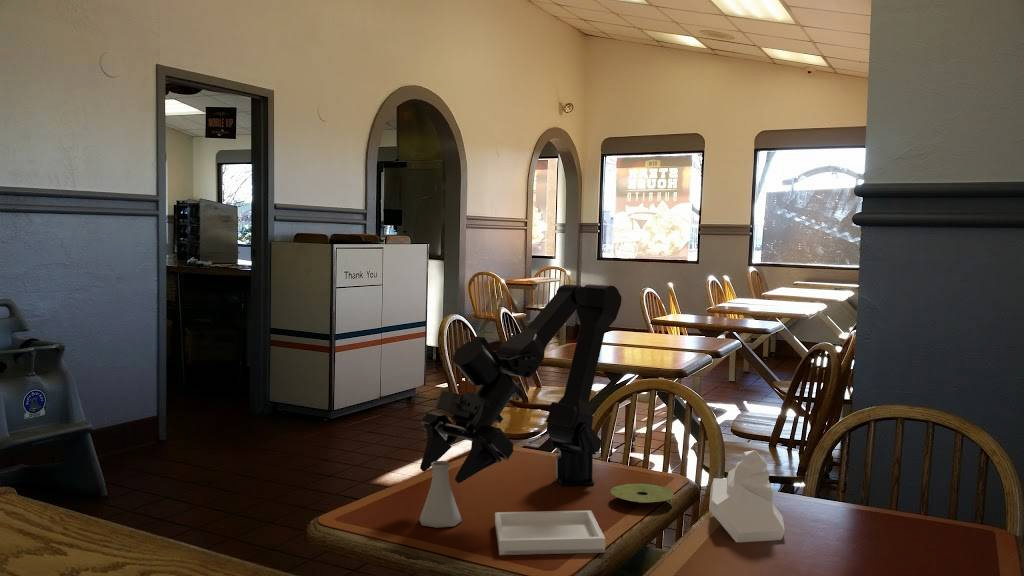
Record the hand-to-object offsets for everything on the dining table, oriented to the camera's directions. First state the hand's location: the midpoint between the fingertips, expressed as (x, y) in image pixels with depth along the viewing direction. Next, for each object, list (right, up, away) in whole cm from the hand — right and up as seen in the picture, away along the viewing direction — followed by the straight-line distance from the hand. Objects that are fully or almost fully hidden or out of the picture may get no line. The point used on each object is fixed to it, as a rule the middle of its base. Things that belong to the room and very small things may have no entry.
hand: (438, 475), depth 139 cm
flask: (0, -8, +1) cm, 8 cm away
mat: (+36, -8, +11) cm, 38 cm away
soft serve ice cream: (+51, -8, -2) cm, 51 cm away
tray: (+18, -8, -7) cm, 21 cm away
